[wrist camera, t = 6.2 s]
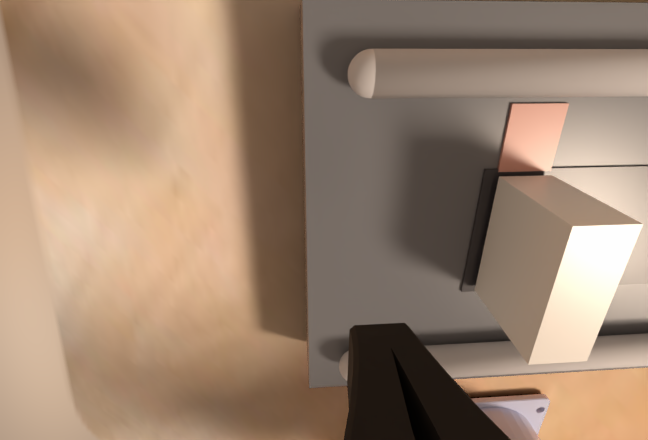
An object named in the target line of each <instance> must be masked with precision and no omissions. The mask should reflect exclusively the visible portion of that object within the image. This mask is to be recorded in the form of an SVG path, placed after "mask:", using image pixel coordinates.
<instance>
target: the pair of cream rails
mask: <svg viewBox="0 0 648 440" xmlns="http://www.w3.org/2000/svg"><path fill="white" fill-rule="evenodd" d="M348 81H349V84H350V86H351V88H352V89H353V91H354V92H355V93H356V94H358V95H359V96H361V97H364V98H502V97H641V96H648V49H366V50H363V51H361V52H360V53H358V54H357V55H356V56H355V57H354V58H353V59H352V61H351V63H350V65H349V68H348ZM425 347H426V348H427V349H428V351H429V352H430V353H431V354H432V355H433V357H434V358H435V359H436V360H437V361H438V362H439V364H440V365H441V366H442V367H443V368H444V369H445V371H446V372H447V373H448V374H449V375H450V376H451V377H452V378H456V377H472V376H488V375H505V374H521V373H538V372H554V371H570V370H587V369H603V368H620V367H636V366H648V333H645V334H627V335H608V336H597V338H596V340H595V343H594V345H593V348H592V350H591V352H590V355H589V357H588V360H587V361H583V362H566V363H549V364H532V365H528V364H527V363H526V361H525V360H524V358H523V357H522V356H521V354H520V353H519V351H518V350H517V349H516V347H515V346H514V344H513V343H512V342H511V341H498V342H480V343H462V344H443V345H425ZM348 353H349V351H347V352H346V353H344V354H343V356H342V357H341V359H340V362H339V370H340V373H341V375H342V377H343V378H344V379H345V380H346V381H347V376H348Z"/></svg>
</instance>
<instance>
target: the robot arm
mask: <svg viewBox="0 0 648 440" xmlns="http://www.w3.org/2000/svg"><path fill="white" fill-rule="evenodd" d="M347 387H348V399H349V413H348V418H347V424H346V430H345V436H344V440H540V438H539V437H538V433H539V430H540V427H541V425H542V422H543V420H544V417H545V414H546V412H547V409H548V406H549V404H550V400H549V399H548V397H547V396H546V395H544V394H532V395H517V396H501V397H486V398H470V397H469V396H468V395H467V394H466V393H465V392H464V391H463V389H462V388H461V387H460V386H459V385H458V384H457V383H456V382H455V381H454V380H453V379H452V377H451V376H450V375H449V374H448V373H447V372H446V371H445V369H444V368H443V367H442V366H441V365H440V364H439V362H438V361H437V360H436V359H435V358H434V357H433V355H432V354H431V353H430V352H429V351H428V349H427V348H426V347H425V346H424V345H423V343H422V342H421V341H420V340H419V338H418V337H417V336H416V335H415V333H414V332H413V331H412V330H411V329H410V327H409V326H408V325H407V324H406V323H389V324H369V325H354V326H353V327H352V328H350V330H349V353H348V376H347Z"/></svg>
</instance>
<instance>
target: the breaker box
mask: <svg viewBox="0 0 648 440" xmlns="http://www.w3.org/2000/svg"><path fill="white" fill-rule="evenodd" d="M300 20H301V70H302V120H303V169H304V219H305V269H306V319H307V353H308V372H309V388H319V387H335V386H347V381H346V380H345V379H344V378H343V377H342V375H341V373H340V370H339V362H340V359H341V357H342V356H343V354H344V353H346V352H347V351H349V330H350V328H352V327H353V326H354V325H369V324H389V323H406V324H407V325H408V326H409V327H410V329H411V330H412V331H413V332H414V333H415V335H416V336H417V337H418V338H419V340H420V341H421V342H422V343H423V345H424V346H425V345H443V344H462V343H480V342H498V341H511V340H510V339H509V338H508V336H507V335H506V333H505V332H504V331H503V329H502V328H501V326H500V325H499V324H498V322H497V321H496V319H495V318H494V317H493V315H492V314H491V313H490V311H489V310H488V308H487V307H486V306H485V304H484V303H483V301H482V300H481V299H480V297H479V296H478V294H477V293H476V292H475V286H476V281H477V277H478V272H479V267H480V263H481V258H482V253H483V249H484V244H485V239H486V235H487V230H488V226H489V221H490V216H491V212H492V207H493V202H494V198H495V193H496V188H497V184H498V179H499V176H543V175H552V176H554V177H556V178H558V179H560V180H562V181H564V182H566V183H567V184H569V185H571V186H573V187H575V188H577V189H579V190H581V191H582V192H584V193H586V194H588V195H590V196H592V197H594V198H595V199H597V200H599V201H601V202H603V203H605V204H607V205H609V206H610V207H612V208H614V209H616V210H618V211H620V212H622V213H624V214H625V215H627V216H629V217H631V218H633V219H635V220H637V221H639V222H640V223H642V224H643V226H642V228H641V231H640V233H639V236H638V238H637V241H636V243H635V245H634V248H633V250H632V253H631V255H630V258H629V260H628V262H627V265H626V267H625V270H624V272H623V275H622V277H621V279H620V282H619V284H618V287H617V289H616V292H615V294H614V296H613V299H612V301H611V304H610V306H609V309H608V311H607V314H606V316H605V318H604V321H603V323H602V326H601V328H600V331H599V333H598V335H597V336H608V335H627V334H645V333H648V96H641V97H502V98H364V97H361V96H359V95H358V94H356V93H355V92H354V91H353V89H352V88H351V86H350V84H349V81H348V68H349V65H350V63H351V61H352V59H353V58H354V57H355V56H356V55H357V54H358V53H360V52H361V51H363V50H366V49H648V3H625V2H538V1H452V0H302V2H301V5H300ZM645 367H648V366H636V367H620V368H603V369H587V370H570V371H554V372H538V373H521V374H505V375H488V376H472V377H456V378H452V379H466V378H482V377H498V376H515V375H531V374H547V373H564V372H580V371H596V370H613V369H629V368H645Z"/></svg>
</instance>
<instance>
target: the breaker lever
mask: <svg viewBox="0 0 648 440" xmlns="http://www.w3.org/2000/svg"><path fill="white" fill-rule="evenodd" d="M642 226H643V224H642V223H640V222H639V221H637V220H635V219H633V218H631V217H629V216H627V215H625V214H624V213H622V212H620V211H618V210H616V209H614V208H612V207H610V206H609V205H607V204H605V203H603V202H601V201H599V200H597V199H595V198H594V197H592V196H590V195H588V194H586V193H584V192H582V191H581V190H579V189H577V188H575V187H573V186H571V185H569V184H567V183H566V182H564V181H562V180H560V179H558V178H556V177H554V176H552V175H543V176H499V179H498V184H497V188H496V193H495V198H494V202H493V207H492V212H491V216H490V221H489V226H488V230H487V235H486V239H485V244H484V249H483V253H482V258H481V263H480V267H479V272H478V277H477V281H476V286H475V292H476V293H477V294H478V296H479V297H480V299H481V300H482V301H483V303H484V304H485V306H486V307H487V308H488V310H489V311H490V313H491V314H492V315H493V317H494V318H495V319H496V321H497V322H498V324H499V325H500V326H501V328H502V329H503V331H504V332H505V333H506V335H507V336H508V338H509V339H510V340H511V342H512V343H513V344H514V346H515V347H516V349H517V350H518V351H519V353H520V354H521V356H522V357H523V358H524V360H525V361H526V363H527V364H528V365H532V364H549V363H566V362H583V361H587V360H588V357H589V355H590V352H591V350H592V348H593V345H594V343H595V340H596V338H597V335H598V333H599V331H600V328H601V326H602V323H603V321H604V318H605V316H606V314H607V311H608V309H609V306H610V304H611V301H612V299H613V296H614V294H615V292H616V289H617V287H618V284H619V282H620V279H621V277H622V275H623V272H624V270H625V267H626V265H627V262H628V260H629V258H630V255H631V253H632V250H633V248H634V245H635V243H636V241H637V238H638V236H639V233H640V231H641V228H642Z"/></svg>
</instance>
